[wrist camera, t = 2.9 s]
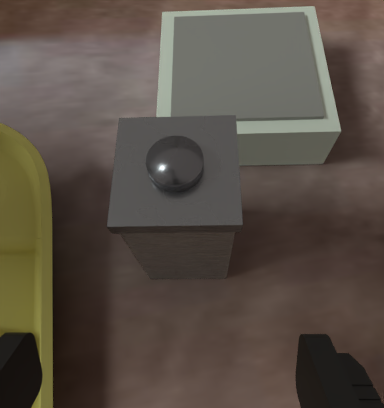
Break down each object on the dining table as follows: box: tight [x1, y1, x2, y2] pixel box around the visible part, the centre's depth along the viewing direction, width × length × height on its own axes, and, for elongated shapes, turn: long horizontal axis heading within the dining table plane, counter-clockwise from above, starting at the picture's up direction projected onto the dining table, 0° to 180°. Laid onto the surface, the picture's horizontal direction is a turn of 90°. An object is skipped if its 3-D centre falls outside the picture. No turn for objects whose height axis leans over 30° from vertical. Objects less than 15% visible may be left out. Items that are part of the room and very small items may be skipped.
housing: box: [107, 115, 243, 279], centre depth 19 cm, size 5×5×11 cm
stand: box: [156, 6, 341, 166], centre depth 27 cm, size 12×12×4 cm
